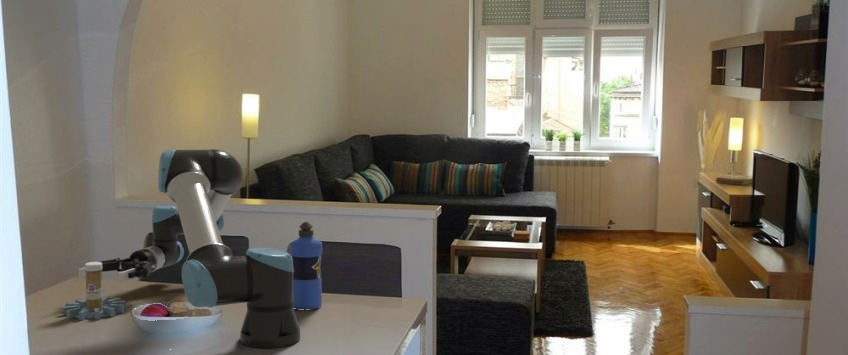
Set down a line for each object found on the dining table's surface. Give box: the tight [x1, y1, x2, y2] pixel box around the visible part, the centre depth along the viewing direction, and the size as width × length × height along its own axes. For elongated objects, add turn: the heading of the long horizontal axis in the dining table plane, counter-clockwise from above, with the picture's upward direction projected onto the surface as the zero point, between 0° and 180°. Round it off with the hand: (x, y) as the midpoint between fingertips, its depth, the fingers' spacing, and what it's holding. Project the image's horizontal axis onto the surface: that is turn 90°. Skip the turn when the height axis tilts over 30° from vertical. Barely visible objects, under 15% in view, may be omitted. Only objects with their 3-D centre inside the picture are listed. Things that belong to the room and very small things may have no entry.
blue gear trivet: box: [62, 296, 127, 321], centre depth 227 cm, size 16×16×2 cm
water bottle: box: [289, 221, 323, 310], centre depth 235 cm, size 9×9×25 cm
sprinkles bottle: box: [84, 261, 104, 311], centre depth 226 cm, size 5×5×14 cm
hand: (99, 275), depth 229 cm, fingers open, 13 cm apart
